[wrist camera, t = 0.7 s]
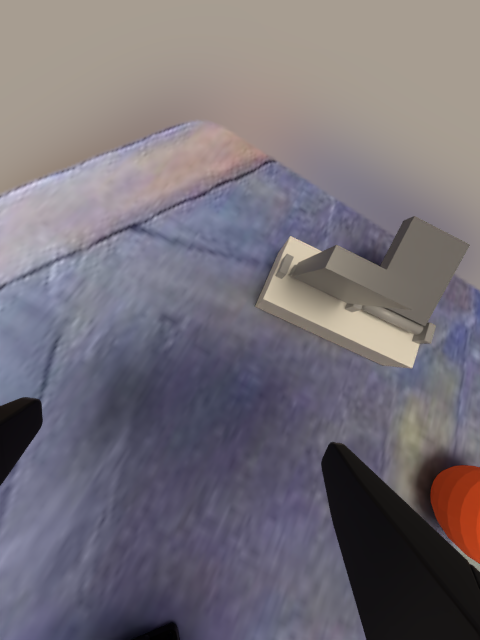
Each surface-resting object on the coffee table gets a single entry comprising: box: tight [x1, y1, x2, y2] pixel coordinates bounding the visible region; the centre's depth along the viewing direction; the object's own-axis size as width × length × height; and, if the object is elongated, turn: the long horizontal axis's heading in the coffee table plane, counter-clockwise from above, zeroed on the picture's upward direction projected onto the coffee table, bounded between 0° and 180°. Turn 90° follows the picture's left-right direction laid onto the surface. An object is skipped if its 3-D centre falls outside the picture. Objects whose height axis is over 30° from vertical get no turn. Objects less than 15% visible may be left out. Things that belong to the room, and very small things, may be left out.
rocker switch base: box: [255, 236, 436, 368], centre depth 21 cm, size 6×14×5 cm, turn 66°
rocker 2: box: [361, 216, 470, 335], centre depth 19 cm, size 1×5×8 cm
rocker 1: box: [290, 245, 425, 310], centre depth 16 cm, size 1×5×8 cm, turn 66°
